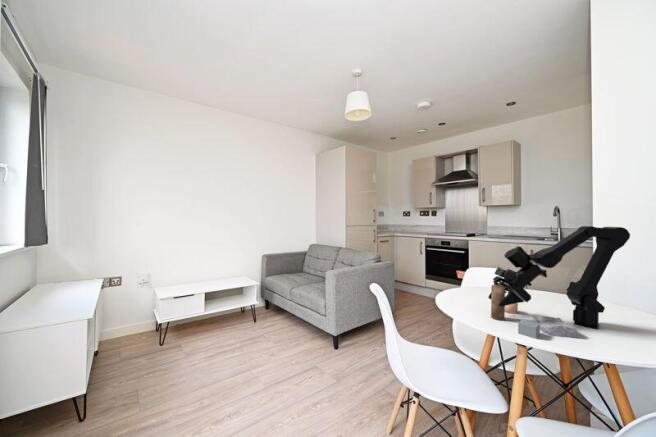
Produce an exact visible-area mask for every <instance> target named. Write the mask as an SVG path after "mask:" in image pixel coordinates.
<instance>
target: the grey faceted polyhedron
mask: <svg viewBox="0 0 656 437" xmlns="http://www.w3.org/2000/svg"><path fill="white" fill-rule="evenodd" d="M517 324H518V325H517V334H518V335H521V336H525V337H529V338H532V339H537V338H538V337H539V336H540V335H541V334H540V331H541V330H540V324H539V323H535V322H534V321H531V320H527V319H521V320H519V321H518V322H517Z"/></svg>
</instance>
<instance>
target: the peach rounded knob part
mask: <svg viewBox="0 0 656 437" xmlns="http://www.w3.org/2000/svg"><path fill="white" fill-rule="evenodd" d="M518 304H519V303H515V304H510V305H506V306H505V313H507V314H509V315H510V314H511V315H517V314H519V312H518V310H519V307H518Z"/></svg>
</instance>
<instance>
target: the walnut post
mask: <svg viewBox="0 0 656 437" xmlns="http://www.w3.org/2000/svg"><path fill="white" fill-rule="evenodd" d="M490 287H491V292H490V293H491V299H490V301H491V302H490V318H491V319H492V318H493V319H492V320H496V321H499V322H501V321H505V318H506V317H505V313H506V312H505V306H502V307H501V306H499V303H500V302H501V301H502V300H503V299H504V298H505V297H506V293H505V287H504V286H501V285H494V284H491V286H490Z"/></svg>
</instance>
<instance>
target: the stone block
mask: <svg viewBox="0 0 656 437" xmlns="http://www.w3.org/2000/svg"><path fill="white" fill-rule="evenodd" d="M532 322H535V323H539V324H540V331H541V332H542V333H544V334H546V335H548V336H551V337H556V338H557V337H559V338H573V339H574V338H575V339H577V338H578V329H577V327H576V325H574V323H573V324H572V323H570V322H565V321H564V320H563V319H562V318H561V317H551V316H548V315H539V316H534V317H533V319H532Z"/></svg>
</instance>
